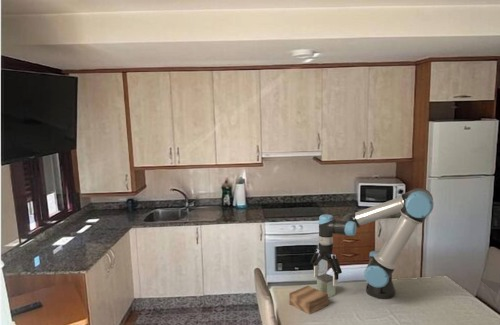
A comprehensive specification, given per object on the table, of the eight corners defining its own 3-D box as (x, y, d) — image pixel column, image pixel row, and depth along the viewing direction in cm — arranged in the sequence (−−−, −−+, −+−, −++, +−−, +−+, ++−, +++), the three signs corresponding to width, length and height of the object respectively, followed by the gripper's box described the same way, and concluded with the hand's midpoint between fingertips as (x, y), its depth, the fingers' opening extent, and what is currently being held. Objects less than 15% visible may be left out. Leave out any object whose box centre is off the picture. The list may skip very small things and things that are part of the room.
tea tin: (335, 294, 205) (335, 277, 204) (327, 298, 200) (326, 280, 199) (325, 290, 210) (325, 273, 209) (316, 294, 206) (316, 276, 205)
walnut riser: (328, 305, 193) (328, 294, 192) (309, 314, 184) (309, 302, 184) (308, 296, 204) (308, 285, 203) (289, 304, 195) (289, 293, 195)
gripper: (304, 239, 210) (304, 275, 212) (339, 250, 190) (339, 290, 193) (313, 236, 215) (313, 272, 217) (348, 247, 195) (348, 286, 197)
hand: (325, 280), depth 205 cm, fingers open, 13 cm apart
